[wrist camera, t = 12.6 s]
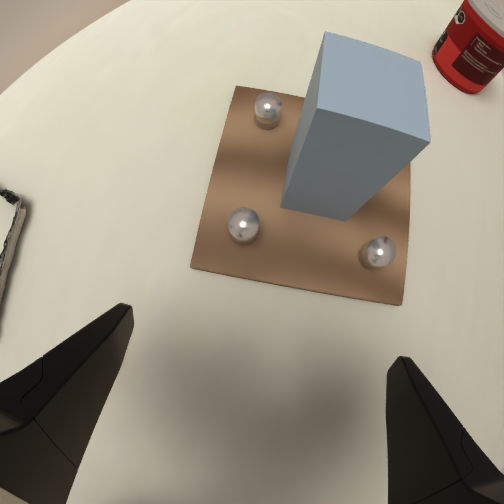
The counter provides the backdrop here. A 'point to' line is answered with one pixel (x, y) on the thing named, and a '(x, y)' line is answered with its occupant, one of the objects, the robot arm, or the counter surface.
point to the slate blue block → (354, 127)
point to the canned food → (472, 45)
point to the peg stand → (294, 214)
